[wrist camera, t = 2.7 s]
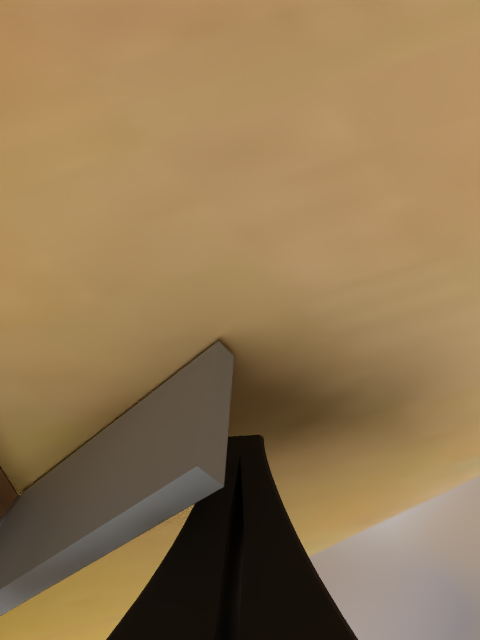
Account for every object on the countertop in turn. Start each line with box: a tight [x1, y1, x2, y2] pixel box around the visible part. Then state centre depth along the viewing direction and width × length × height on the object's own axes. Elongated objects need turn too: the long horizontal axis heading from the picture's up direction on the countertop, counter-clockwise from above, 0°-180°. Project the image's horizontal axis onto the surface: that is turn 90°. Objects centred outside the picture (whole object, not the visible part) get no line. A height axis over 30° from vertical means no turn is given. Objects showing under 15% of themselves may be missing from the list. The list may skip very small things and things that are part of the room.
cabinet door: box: [0, 341, 234, 616], centre depth 11 cm, size 2×13×5 cm, turn 131°
